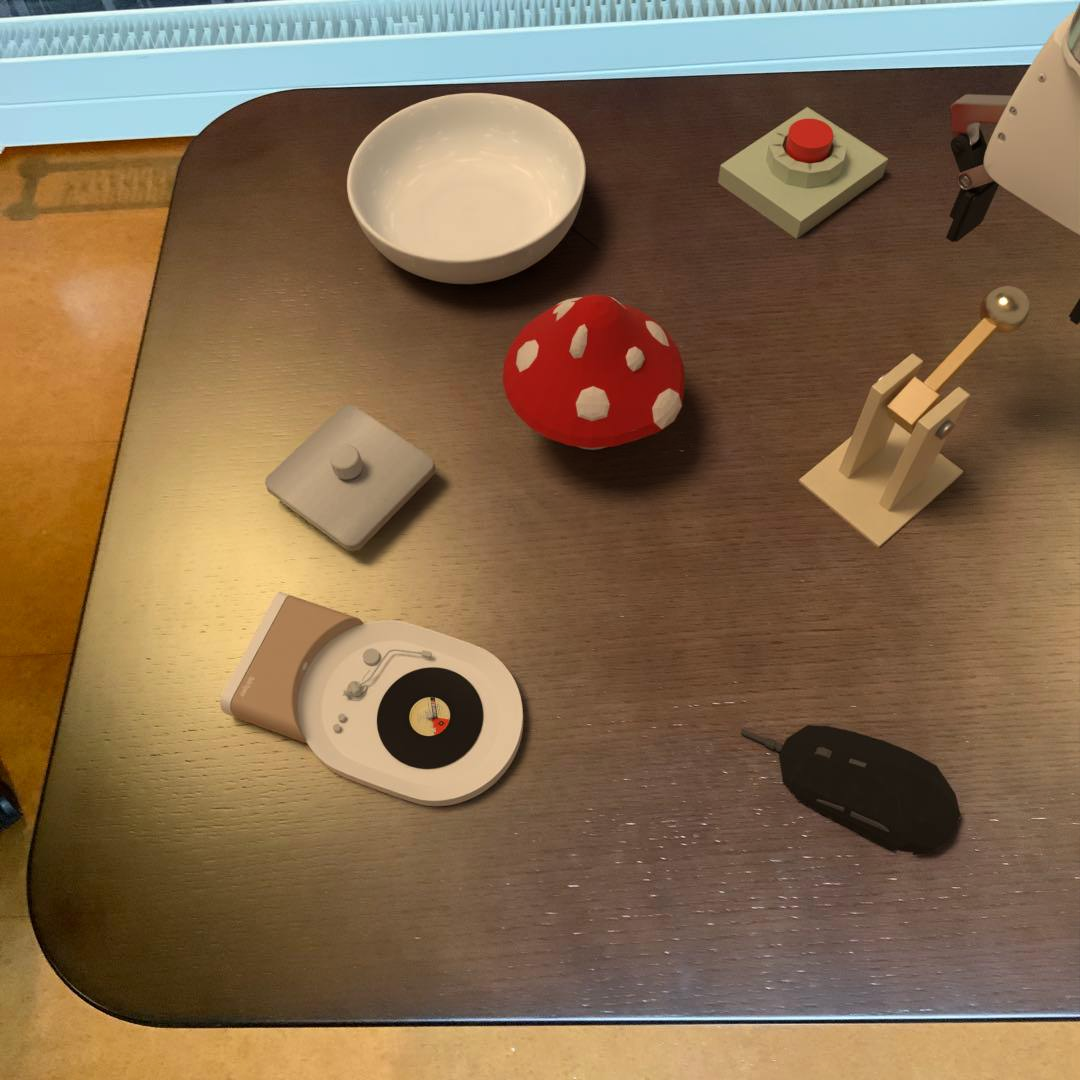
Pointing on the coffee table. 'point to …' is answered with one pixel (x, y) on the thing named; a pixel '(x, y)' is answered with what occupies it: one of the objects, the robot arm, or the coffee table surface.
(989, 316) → the lever
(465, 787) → the record player
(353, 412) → the light switch
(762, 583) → the coffee table surface
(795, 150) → the lamp button
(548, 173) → the serving bowl
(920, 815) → the gaming mouse
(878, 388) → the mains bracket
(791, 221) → the lamp box
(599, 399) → the decorative mushroom
